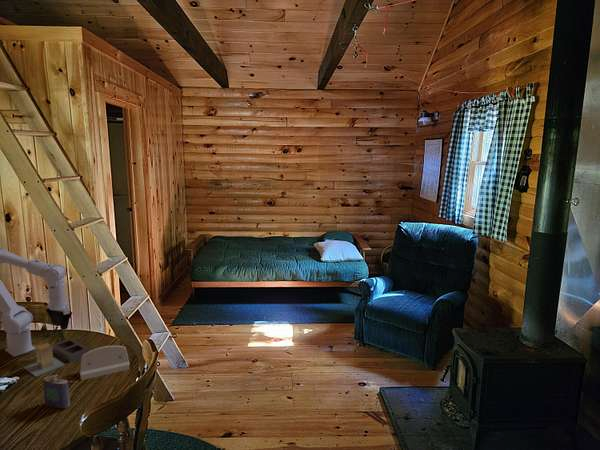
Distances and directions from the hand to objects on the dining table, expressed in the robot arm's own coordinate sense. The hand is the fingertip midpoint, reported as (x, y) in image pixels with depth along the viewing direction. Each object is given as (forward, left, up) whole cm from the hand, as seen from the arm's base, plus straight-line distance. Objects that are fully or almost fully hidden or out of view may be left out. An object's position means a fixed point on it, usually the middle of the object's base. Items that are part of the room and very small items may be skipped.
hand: (60, 326), depth 156 cm
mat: (+8, -10, -10) cm, 17 cm away
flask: (+37, -18, -11) cm, 43 cm away
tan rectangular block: (+8, -10, -10) cm, 16 cm away
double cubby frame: (+5, +1, -10) cm, 12 cm away
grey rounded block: (+29, +2, -11) cm, 31 cm away
